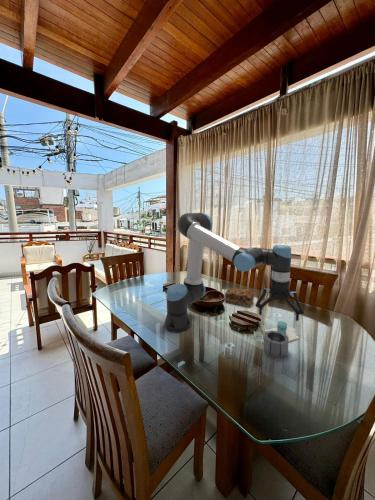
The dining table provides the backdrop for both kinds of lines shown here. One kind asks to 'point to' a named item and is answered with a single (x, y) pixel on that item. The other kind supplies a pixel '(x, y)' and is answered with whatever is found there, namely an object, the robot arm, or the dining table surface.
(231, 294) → the bread
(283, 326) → the block
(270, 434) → the dining table surface
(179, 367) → the dining table surface
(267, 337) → the ring
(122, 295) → the dining table surface
